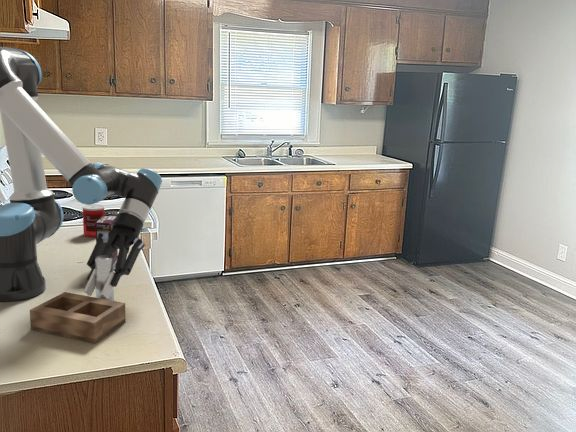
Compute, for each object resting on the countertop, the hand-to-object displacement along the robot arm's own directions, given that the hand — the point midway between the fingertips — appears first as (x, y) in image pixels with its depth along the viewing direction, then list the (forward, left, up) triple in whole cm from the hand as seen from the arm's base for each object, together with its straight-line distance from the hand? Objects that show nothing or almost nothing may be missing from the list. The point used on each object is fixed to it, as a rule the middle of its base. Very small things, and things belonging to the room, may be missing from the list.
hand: (95, 295), depth 133 cm
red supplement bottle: (-42, +57, -4) cm, 71 cm away
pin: (0, +4, -4) cm, 6 cm away
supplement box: (-16, +28, -4) cm, 32 cm away
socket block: (+2, -9, -4) cm, 10 cm away
